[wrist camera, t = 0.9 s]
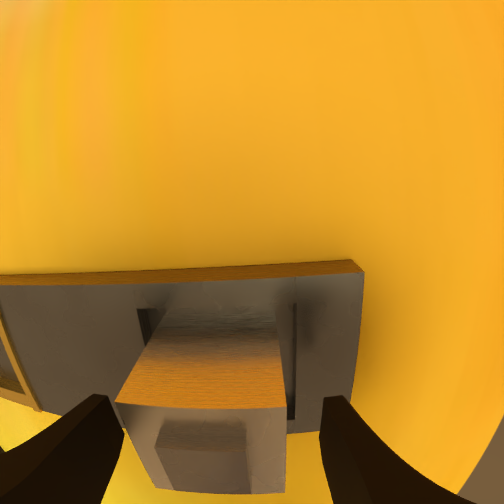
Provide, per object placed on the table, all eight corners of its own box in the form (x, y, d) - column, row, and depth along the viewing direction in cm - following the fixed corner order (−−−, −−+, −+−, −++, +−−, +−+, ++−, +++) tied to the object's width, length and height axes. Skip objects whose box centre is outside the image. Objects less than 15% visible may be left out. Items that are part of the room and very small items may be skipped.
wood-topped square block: (277, 395, 13) (285, 505, 7) (182, 396, 13) (152, 500, 7) (274, 311, 12) (288, 423, 6) (164, 314, 12) (106, 416, 6)
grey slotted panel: (338, 406, 14) (346, 429, 12) (-23, 373, 15) (-36, 384, 13) (351, 259, 12) (366, 273, 10) (-58, 276, 13) (-74, 284, 11)
